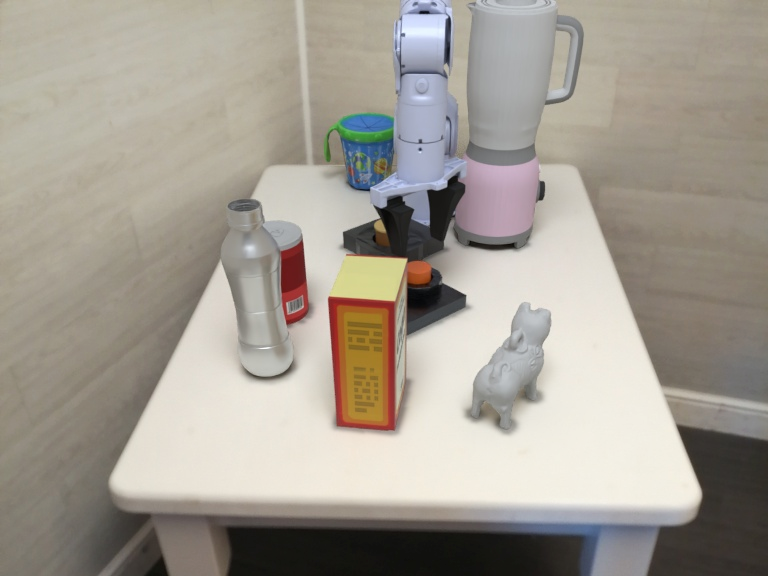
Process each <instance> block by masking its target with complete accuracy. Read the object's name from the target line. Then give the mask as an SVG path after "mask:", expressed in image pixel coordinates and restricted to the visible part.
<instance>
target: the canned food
mask: <svg viewBox="0 0 768 576" xmlns="http://www.w3.org/2000/svg"><path fill="white" fill-rule="evenodd" d="M263 227H264V228H265V229H266V230H267V231H268V232H269V233H270V234H271V235H272V237H273V238H274V239H275V240H276V242H277V244H278V246H279V249H280V251H281V295H282V297H281V298H282V307H283V311H284V316H285V320H286V325H287V326H288V325H291V324H294V323H297V322H299V321H301V320H302V319H303V318H304V317H306V315H307V314H308V310H309V306H310V305H309V304H310V303H309V302H310V301H309V293H308V292H309V291H308V281H307V268H306V258H305V257H306V256H305V246H304V245H305V244H304V238H303V237H304V235H303V230H302V229H301V228H302V227H300V226H299V225H297V224H296V223H295V222H294V223H293V222H290V221H287V220H267V221H266V220H265V222H264V224H263Z"/></svg>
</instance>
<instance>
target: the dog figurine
mask: <svg viewBox="0 0 768 576" xmlns="http://www.w3.org/2000/svg"><path fill="white" fill-rule="evenodd" d="M531 305H532V304H531V302H528V301H523V302H521V303H520V304H519V306H518V307H517V310H516V312H515V314H514V316H513V318H512V320H511V325H510V335H509V336H508V337H507V338H505V340H503V342H502V344H501V346H498V348H497V349H496V350H495V351H494V352H493V354H492V355H491V358H490V360H489V361H488V363H487V364H485V365H484V366H482V368H480V369H479V371H478V372H477V374H476V375H475V377H474V379H473V382H472V398H471V412H470V417H472V418H474V419H478V418H479V417H480V414H481V409H482V407H483V405H484V403H485V402H487V404H489V405H490V406H491V407H492V408H493V409H494V410H495V411H496V412H497V413H498V414H499V415H500V421H499V423H498V425H499V427H500V428H501V429H503V430H509V429H510V428H511V427H512V422H511V421H512V419H511V417H512V411H513V406H514V402H515V400H516V398H517V396H518V393H519V392H520V390H521V389H522V388H524V391H525V397H526V398H527V399H529V400H532V401H535V400H536V399H537V398H538V392H537V381H538V378H539V375H540V374H541V372H542V370H543V367H544V364H545V353H544V351H545V350H544V348H543V345H544V342H545V341H546V339H548V336H549V335H550V332H551V327H552V312H551V310H549V309H546V308H544V307H538V308H537V309H532V308H531Z"/></svg>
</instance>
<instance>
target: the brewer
mask: <svg viewBox="0 0 768 576" xmlns="http://www.w3.org/2000/svg"><path fill="white" fill-rule="evenodd" d="M466 307H467V294H465V293H463V292H461V291H459V290H457V289H456V288H453V287H451V286H450V285H448V284H446V283H444V282H443V276H442V274H441V271H439V270H437V268H434V267H432V266H431V280H430V282H428V283H425V284H412V283H408V282H407V337H408V336H410V335H412V334H414V333H416V332H417V331H420V330H422V329H424V328H427V327H428V326H430V325H432V324H434V323H437V322H438V321H440V320H442V319H445V318H446V317H449V316H451V315H454V314H455V313H457V312H459V311H461V310H463V309H465V308H466Z"/></svg>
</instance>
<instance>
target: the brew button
mask: <svg viewBox="0 0 768 576" xmlns="http://www.w3.org/2000/svg"><path fill="white" fill-rule="evenodd" d="M431 267H432V265H431V264H430V262H429V263H428V262H427V261H423V260H421V261H412V262H409V263H408V265H407V282H408V283H412V284H425V283H428V282H430V280H431Z"/></svg>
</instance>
